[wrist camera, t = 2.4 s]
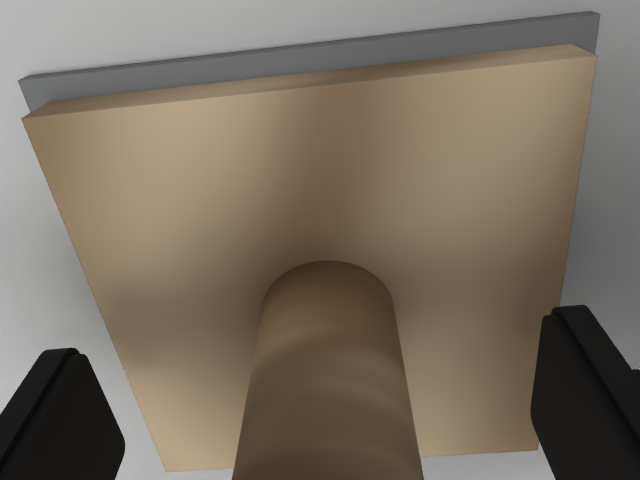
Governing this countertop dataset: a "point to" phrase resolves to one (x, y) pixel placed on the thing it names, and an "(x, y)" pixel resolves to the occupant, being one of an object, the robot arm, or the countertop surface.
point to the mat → (314, 57)
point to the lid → (328, 255)
